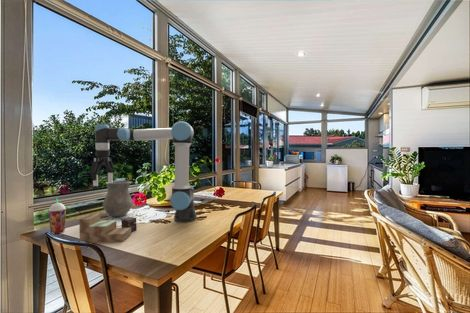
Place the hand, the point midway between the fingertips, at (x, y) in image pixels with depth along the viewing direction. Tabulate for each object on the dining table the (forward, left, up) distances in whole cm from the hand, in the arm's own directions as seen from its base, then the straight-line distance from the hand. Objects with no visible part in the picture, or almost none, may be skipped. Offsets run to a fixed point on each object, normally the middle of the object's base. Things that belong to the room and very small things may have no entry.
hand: (103, 184), depth 145 cm
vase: (+4, -26, -27) cm, 38 cm away
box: (-18, +8, -27) cm, 34 cm away
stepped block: (-11, +20, -27) cm, 35 cm away
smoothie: (+23, +8, -27) cm, 36 cm away
